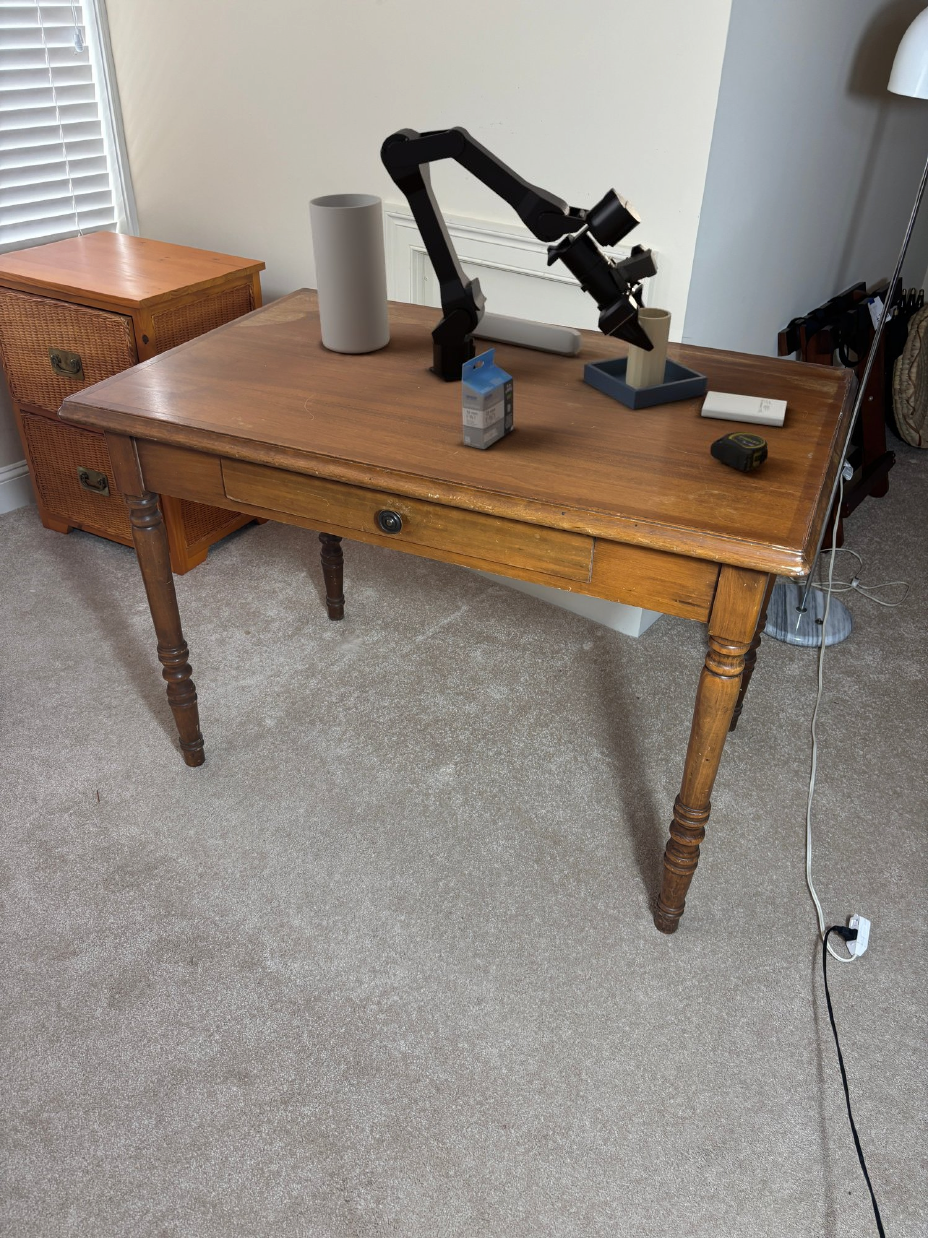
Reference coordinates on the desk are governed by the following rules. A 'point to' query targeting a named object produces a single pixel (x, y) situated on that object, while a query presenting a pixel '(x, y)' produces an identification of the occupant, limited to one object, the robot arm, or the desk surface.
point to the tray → (675, 387)
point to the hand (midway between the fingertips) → (653, 340)
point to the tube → (529, 334)
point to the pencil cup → (650, 365)
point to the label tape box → (486, 401)
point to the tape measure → (740, 450)
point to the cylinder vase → (350, 271)
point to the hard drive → (744, 408)
